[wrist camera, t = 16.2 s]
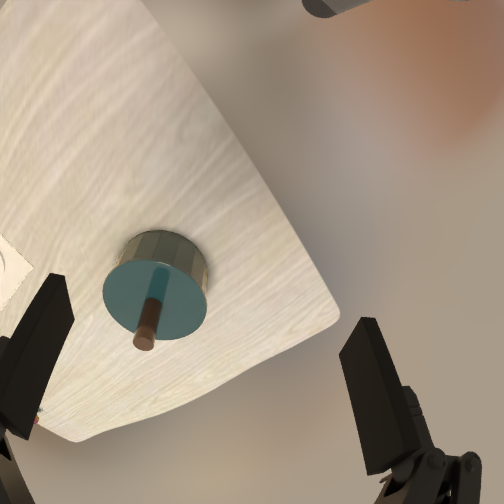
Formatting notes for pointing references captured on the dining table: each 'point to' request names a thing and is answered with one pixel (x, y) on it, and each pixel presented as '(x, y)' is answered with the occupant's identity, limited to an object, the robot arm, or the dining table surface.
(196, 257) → the bowl
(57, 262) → the dining table surface
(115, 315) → the lid
